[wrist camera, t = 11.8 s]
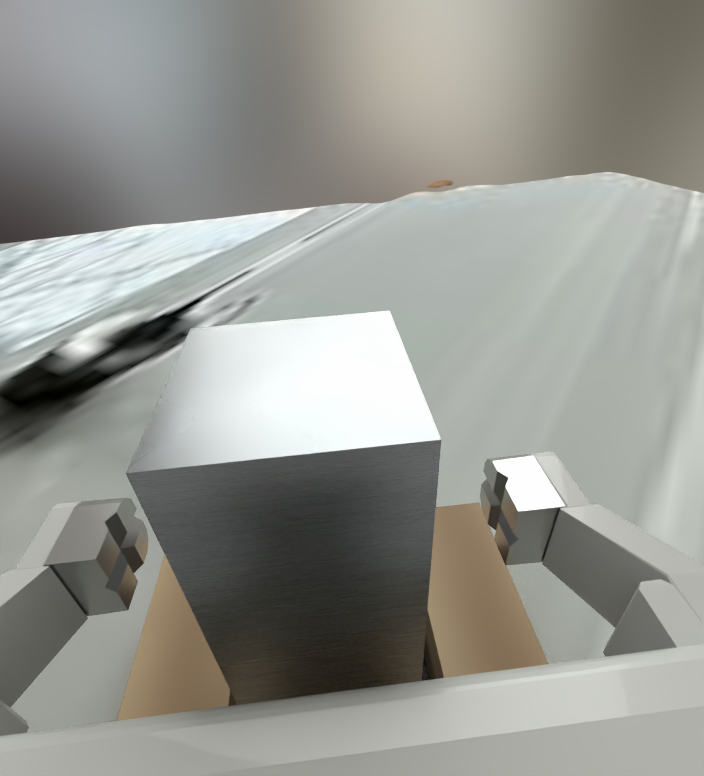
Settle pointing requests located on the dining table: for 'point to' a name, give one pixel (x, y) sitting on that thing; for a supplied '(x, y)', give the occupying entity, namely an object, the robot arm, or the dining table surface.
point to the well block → (442, 638)
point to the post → (297, 501)
